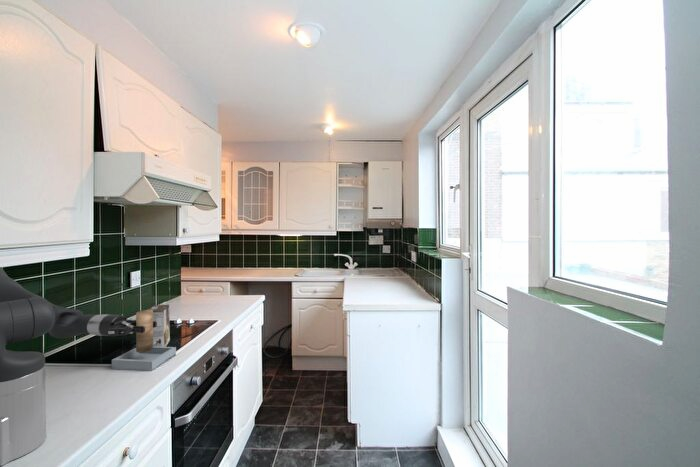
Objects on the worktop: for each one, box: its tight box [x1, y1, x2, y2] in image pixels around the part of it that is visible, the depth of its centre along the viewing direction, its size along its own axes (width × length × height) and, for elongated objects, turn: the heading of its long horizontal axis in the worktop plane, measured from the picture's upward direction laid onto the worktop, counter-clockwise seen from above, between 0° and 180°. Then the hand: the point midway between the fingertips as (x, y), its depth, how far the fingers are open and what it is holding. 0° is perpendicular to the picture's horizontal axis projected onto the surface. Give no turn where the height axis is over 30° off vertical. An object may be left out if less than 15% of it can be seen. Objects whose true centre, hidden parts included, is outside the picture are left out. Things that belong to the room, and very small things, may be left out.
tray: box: [111, 346, 177, 372], centre depth 105 cm, size 12×15×3 cm
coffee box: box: [148, 304, 171, 347], centre depth 119 cm, size 9×6×16 cm
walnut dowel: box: [135, 309, 153, 353], centre depth 105 cm, size 5×5×14 cm
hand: (150, 326), depth 105 cm, fingers closed on walnut dowel, 5 cm apart
